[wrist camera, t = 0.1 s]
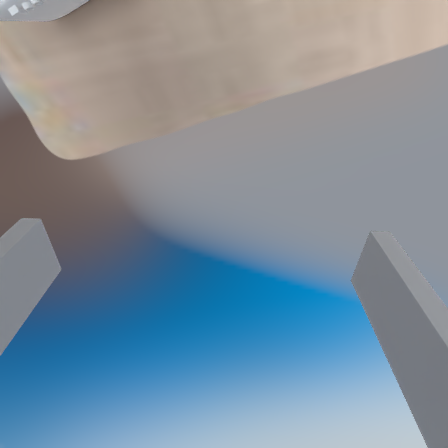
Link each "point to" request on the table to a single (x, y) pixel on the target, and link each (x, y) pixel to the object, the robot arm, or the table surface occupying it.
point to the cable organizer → (37, 9)
